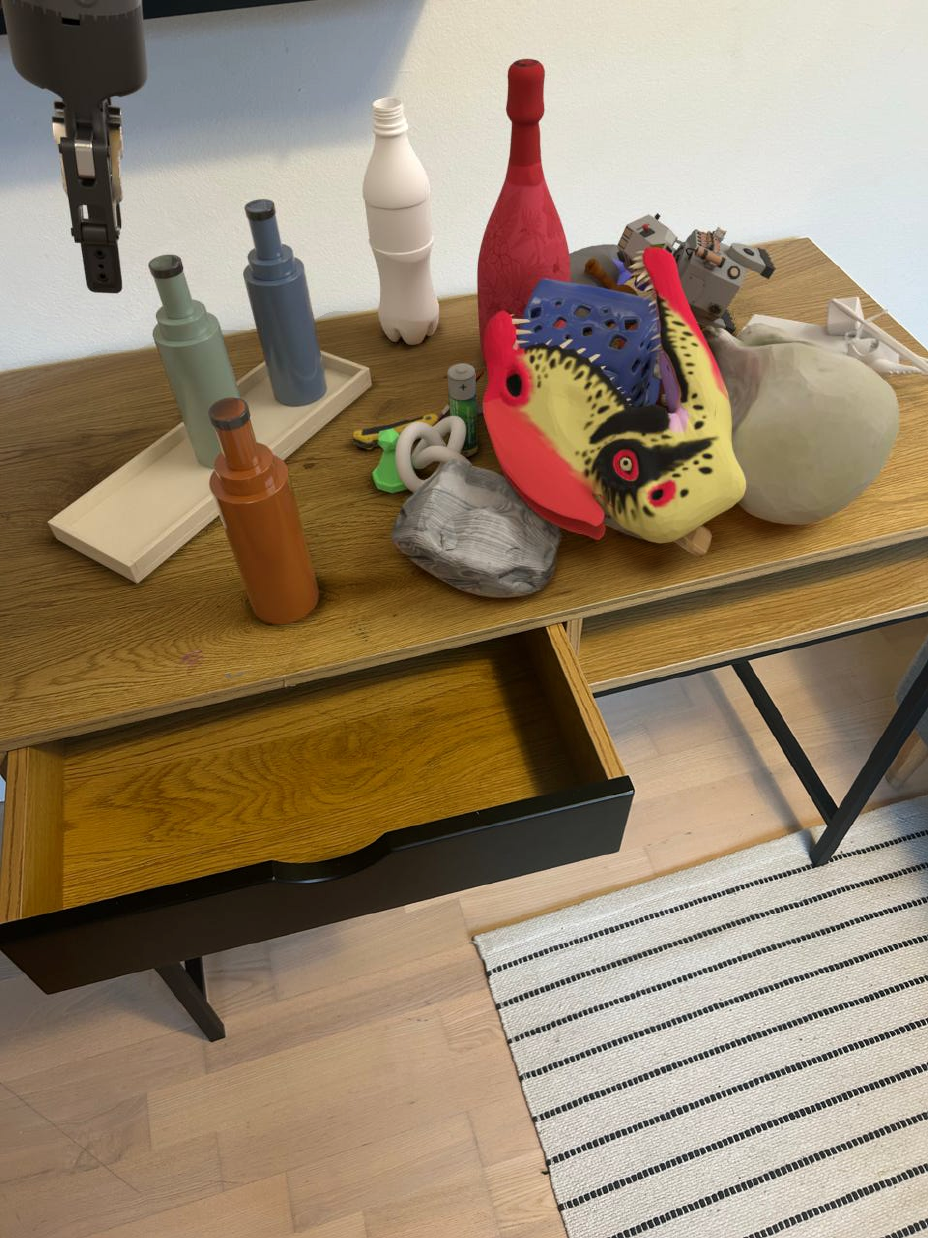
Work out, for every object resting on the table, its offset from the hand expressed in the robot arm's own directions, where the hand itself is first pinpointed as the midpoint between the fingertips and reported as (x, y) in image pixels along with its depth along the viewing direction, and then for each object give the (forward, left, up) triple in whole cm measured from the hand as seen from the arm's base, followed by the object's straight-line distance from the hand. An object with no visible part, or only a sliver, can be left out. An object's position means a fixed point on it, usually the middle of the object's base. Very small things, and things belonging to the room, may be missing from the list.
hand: (105, 258), depth 61 cm
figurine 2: (+54, +31, -24) cm, 67 cm away
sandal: (+41, +2, -23) cm, 47 cm away
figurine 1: (+55, +37, -23) cm, 70 cm away
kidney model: (+38, +31, -26) cm, 56 cm away
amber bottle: (+9, -8, -27) cm, 30 cm away
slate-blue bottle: (+5, +22, -27) cm, 35 cm away
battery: (+24, +13, -27) cm, 38 cm away
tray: (-1, +12, -27) cm, 30 cm away
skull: (+43, +8, -14) cm, 46 cm away
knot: (+21, +8, -27) cm, 35 cm away
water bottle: (+16, +35, -28) cm, 47 cm away
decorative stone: (+28, -4, -20) cm, 34 cm away
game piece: (+17, +8, -27) cm, 33 cm away
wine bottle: (+29, +29, -28) cm, 50 cm away
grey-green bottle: (-1, +12, -27) cm, 29 cm away
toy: (+46, +7, -13) cm, 48 cm away
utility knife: (+20, +17, -27) cm, 37 cm away
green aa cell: (+21, +17, -26) cm, 38 cm away
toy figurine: (+38, +30, -25) cm, 54 cm away
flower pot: (+33, +10, -22) cm, 41 cm away
